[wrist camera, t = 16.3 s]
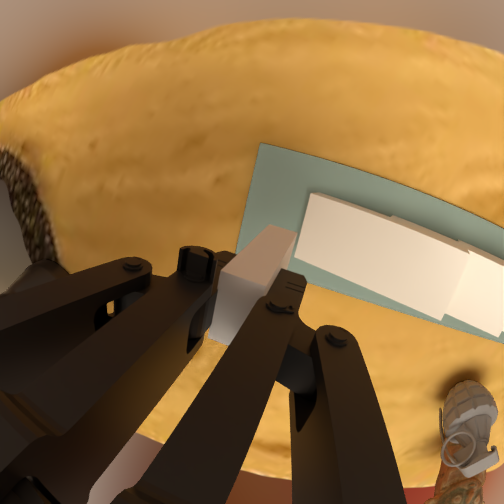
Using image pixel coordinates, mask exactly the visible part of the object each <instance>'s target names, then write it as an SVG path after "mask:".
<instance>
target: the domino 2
mask: <svg viewBox="0 0 504 504" xmlns="http://www.w3.org/2000/svg"><path fill="white" fill-rule="evenodd" d="M391 218H394V219H396V220H399V221H402V222H404V223H407V224H409V225H412V226H414V227H417V228H419V229H422V230H424V231H427V232H429V233H432V234H434V235H436V236H439V237H441V238H443V239H446V240H448V241H450V242H453V243H455V244H457V245H460V246H462V247H464V248H466V249H468V251H469V253H470V256H469V259H468V262H467V264H466V267H465V269H464V272H463V274H462V276H461V279H460V281H459V283H458V286H457V288H456V290H455V292H454V295H453V297H452V299H451V301H450V303H449V305H448V307H447V309H446V311H445V314H448V315H450V316H452V317H454V318H457V319H459V320H461V321H463V322H465V323H468V324H470V325H472V326H474V327H476V328H478V329H481V330H483V331H485V332H487V333H489V334H491V335H494V336H496V337H499V335H500V334H501V332H502V330H503V328H504V263H503V262H501V261H499V260H497V259H495V258H492V257H490V256H488V255H486V254H484V253H482V252H480V251H478V250H475V249H473V248H471V247H469V246H467V245H464V244H462V243H460V242H458V241H455V240H453V239H451V238H449V237H446V236H444V235H441V234H439V233H437V232H434V231H432V230H430V229H427V228H425V227H422V226H420V225H417V224H415V223H412V222H410V221H407V220H405V219H402V218H399V217H397V216H394V215H392V216H391Z"/></svg>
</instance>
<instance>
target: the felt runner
mask: <svg viewBox="0 0 504 504" xmlns="http://www.w3.org/2000/svg"><path fill="white" fill-rule="evenodd" d="M318 192H320V193H323V194H326V195H329V196H332V197H335V198H338V199H341V200H344V201H347V202H350V203H353V204H356V205H358V206H361V207H364V208H367V209H370V210H372V211H375V212H378V213H381V214H383V215H386V216H389V217H391V216H392V215H394V216H397V217H399V218H402V219H405V220H407V221H410V222H412V223H415V224H417V225H420V226H422V227H425V228H427V229H430V230H432V231H434V232H437V233H439V234H441V235H444V236H446V237H449V238H451V239H453V240H455V241H458V239H459V240H461V241H463V242H466V243H468V244H470V245H472V246H475V247H477V248H479V249H481V250H483V251H485V252H488V253H490V254H492V255H494V256H496V257H498V258H500V259H502V260H504V229H503V228H501V227H499V226H497V225H495V224H493V223H491V222H489V221H487V220H485V219H482V218H480V217H478V216H476V215H474V214H472V213H470V212H467V211H465V210H463V209H461V208H458V207H456V206H454V205H452V204H449V203H447V202H444V201H442V200H440V199H437V198H435V197H432V196H430V195H427V194H425V193H422V192H420V191H417V190H415V189H412V188H409V187H407V186H404V185H401V184H399V183H396V182H393V181H390V180H388V179H385V178H382V177H379V176H376V175H373V174H370V173H367V172H364V171H361V170H358V169H355V168H352V167H349V166H346V165H342V164H339V163H336V162H332V161H329V160H326V159H322V158H319V157H315V156H311V155H308V154H304V153H300V152H297V151H293V150H289V149H285V148H281V147H277V146H273V145H269V144H264V143H260V146H259V150H258V155H257V159H256V163H255V168H254V172H253V176H252V181H251V185H250V189H249V194H248V198H247V203H246V207H245V212H244V216H243V221H242V225H241V230H240V234H239V239H238V243H237V248H236V252H235V254H238V253H240V252H241V251H242V250H243V249H244V248H245V247H246V246H247V245H248V244H249V243H250V242H251V241H252V240H253V239H254V238H255V237H256V236H257V235H258V234H259V233H261V232H262V231H263V230H264V229H265V228H266V227H267V226H268V225H269V224H271V225H274V226H277V227H281V228H284V229H287V230H290V231H294V232H297V237H296V240H295V244H294V247H293V251H292V254H291V258H290V261H289V264H288V268H287V270H289V271H292V272H295V273H298V274H301V275H304V276H305V278H306V280H307V283H311V284H314V285H317V286H320V287H323V288H326V289H329V290H332V291H335V292H338V293H342V294H345V295H348V296H351V297H354V298H357V299H360V300H363V301H367V302H370V303H373V304H376V305H379V306H382V307H386V308H389V309H392V310H395V311H398V312H401V313H405V314H408V315H411V316H414V317H417V318H421V319H424V320H427V321H430V322H433V323H437V324H440V325H443V326H446V327H450V328H453V329H456V330H460V331H463V332H466V333H469V334H473V335H476V336H479V337H483V338H486V339H489V340H493V341H496V342H499V343H503V344H504V332H503V331H502V332H501V334H500V335H499V337H496V336H494V335H491V334H489V333H487V332H485V331H483V330H481V329H478V328H476V327H474V326H472V325H470V324H468V323H465V322H463V321H461V320H459V319H457V318H454V317H452V316H450V315H448V314H444V316H443V318H442V319H441V321H440V320H438V319H435V318H433V317H431V316H429V315H426V314H424V313H422V312H420V311H417V310H415V309H413V308H411V307H408V306H406V305H404V304H401V303H399V302H397V301H395V300H392V299H390V298H388V297H386V296H383V295H381V294H379V293H376V292H374V291H372V290H369V289H367V288H365V287H363V286H360V285H358V284H356V283H353V282H351V281H349V280H346V279H344V278H342V277H339V276H337V275H335V274H333V273H330V272H328V271H326V270H323V269H321V268H319V267H316V266H314V265H312V264H309V263H307V262H305V261H302V260H300V259H298V258H295V257H294V255H295V251H296V248H297V244H298V240H299V237H300V233H301V229H302V225H303V221H304V217H305V213H306V210H307V206H308V202H309V198H310V194H311V193H318Z"/></svg>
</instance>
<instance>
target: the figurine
mask: <svg viewBox="0 0 504 504" xmlns="http://www.w3.org/2000/svg"><path fill="white" fill-rule="evenodd" d="M446 439H447V438H445V439H444V440H445V441H446ZM446 447H447V449H448V452H449V454H450V456H451V457H452V458H453V459H454V460H456V459H455V457H454V455H453V454H454V453H456V452H458V451H460V450H461V449H463V447H462V446H461V444H460V443H457V444H456V443H452V442H450V441H448V442H447V444H446ZM444 457H445V459H446V461H447V462H449V463H452V462H451V460H450V459H449V457H448V455H447V453H446V451H445V449H444ZM456 461H457V460H456ZM452 464H453V463H452ZM485 479H486V470H484V471H482V472H480V473H478V474H476V475H474V476H472V477H470V478H467V477H465V476H464V475H463V474H462V472H461V471H460V470H459V469H458V468H457V467H450V466H447V465H446V464H444V462H443V461H441V467H440V471H439V475H438V477H437V480H436V484H435V492H434V498H430V499H428V500H427V501H426V502H425V503H424V504H484V503H485V502H484V501H483V491H482V486H483V484H484V482H485Z"/></svg>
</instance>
